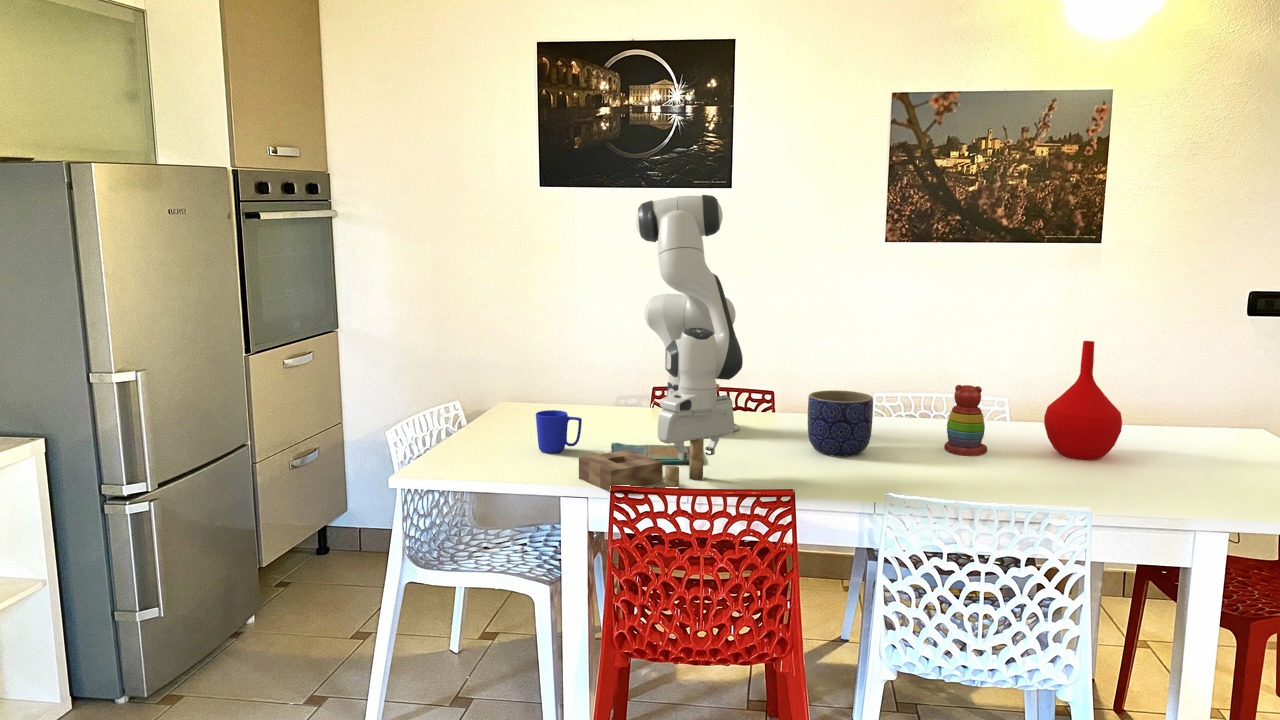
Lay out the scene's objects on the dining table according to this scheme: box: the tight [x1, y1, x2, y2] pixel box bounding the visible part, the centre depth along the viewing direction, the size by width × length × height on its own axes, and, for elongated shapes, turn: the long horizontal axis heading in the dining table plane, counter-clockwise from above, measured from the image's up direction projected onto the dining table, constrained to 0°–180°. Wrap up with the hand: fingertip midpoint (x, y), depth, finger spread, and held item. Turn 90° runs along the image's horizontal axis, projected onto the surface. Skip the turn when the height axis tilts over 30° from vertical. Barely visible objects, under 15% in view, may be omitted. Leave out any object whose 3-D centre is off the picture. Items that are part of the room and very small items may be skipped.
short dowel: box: [664, 465, 680, 488], centre depth 219 cm, size 3×3×5 cm
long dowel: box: [688, 438, 705, 481], centre depth 227 cm, size 3×3×10 cm
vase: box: [1043, 340, 1123, 461], centre depth 250 cm, size 18×18×30 cm
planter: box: [807, 389, 874, 457], centre depth 253 cm, size 17×16×15 cm
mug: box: [535, 409, 583, 454], centre depth 252 cm, size 8×12×10 cm
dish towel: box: [610, 442, 704, 466], centre depth 248 cm, size 17×23×2 cm
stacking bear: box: [943, 384, 988, 457], centre depth 254 cm, size 11×10×18 cm
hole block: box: [578, 450, 664, 492], centre depth 225 cm, size 14×14×5 cm
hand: (696, 457), depth 227 cm, fingers open, 7 cm apart
